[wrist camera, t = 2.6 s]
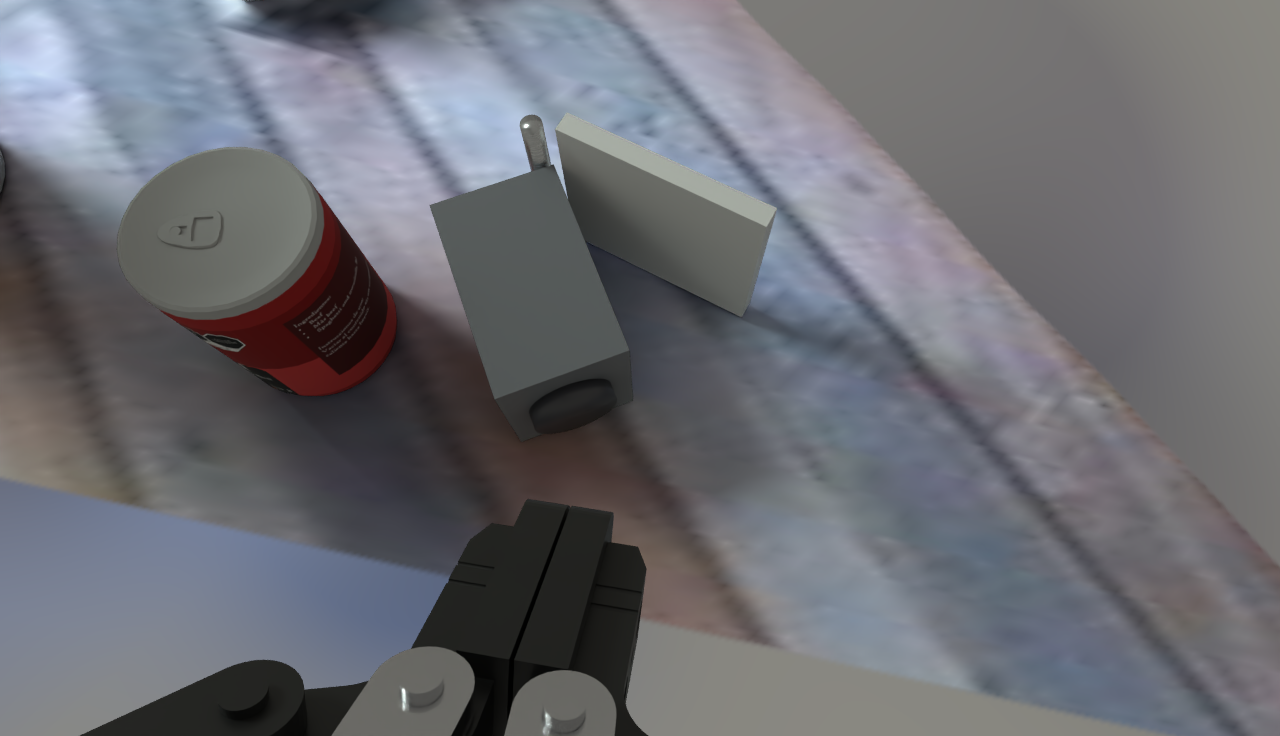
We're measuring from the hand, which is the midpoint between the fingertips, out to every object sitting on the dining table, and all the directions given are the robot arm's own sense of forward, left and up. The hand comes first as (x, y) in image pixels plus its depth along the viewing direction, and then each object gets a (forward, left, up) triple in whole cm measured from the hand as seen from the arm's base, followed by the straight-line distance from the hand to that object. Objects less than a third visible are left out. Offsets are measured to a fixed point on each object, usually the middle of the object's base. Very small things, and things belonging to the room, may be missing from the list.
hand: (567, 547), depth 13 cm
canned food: (-21, -3, -24) cm, 32 cm away
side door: (-12, +13, -23) cm, 30 cm away
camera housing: (-13, +6, -24) cm, 28 cm away
